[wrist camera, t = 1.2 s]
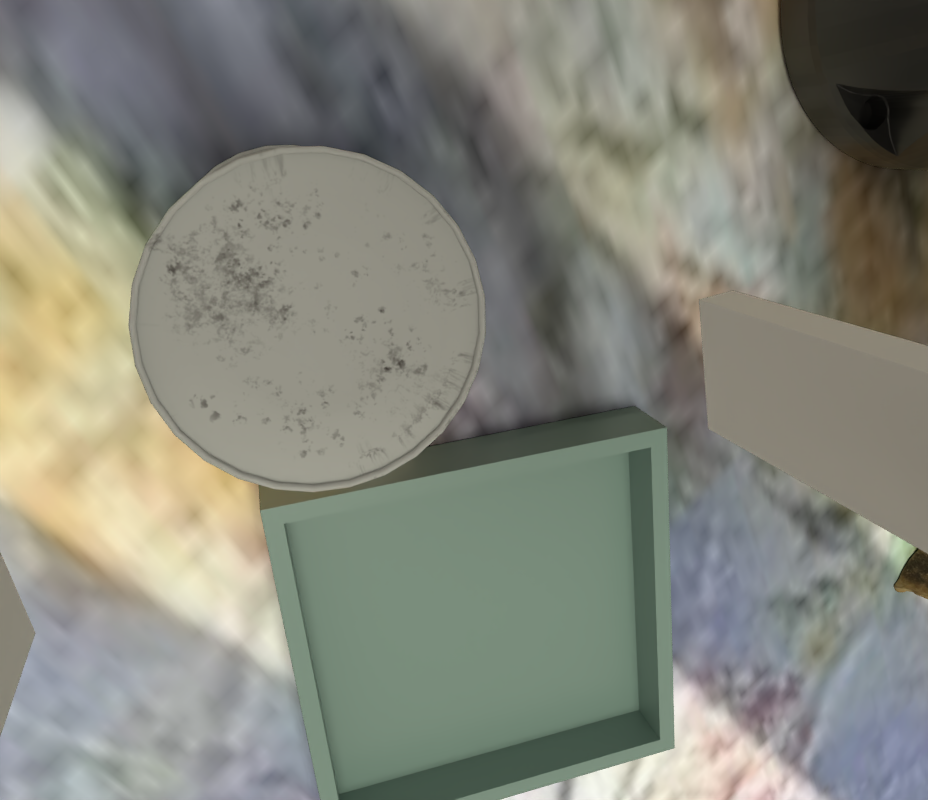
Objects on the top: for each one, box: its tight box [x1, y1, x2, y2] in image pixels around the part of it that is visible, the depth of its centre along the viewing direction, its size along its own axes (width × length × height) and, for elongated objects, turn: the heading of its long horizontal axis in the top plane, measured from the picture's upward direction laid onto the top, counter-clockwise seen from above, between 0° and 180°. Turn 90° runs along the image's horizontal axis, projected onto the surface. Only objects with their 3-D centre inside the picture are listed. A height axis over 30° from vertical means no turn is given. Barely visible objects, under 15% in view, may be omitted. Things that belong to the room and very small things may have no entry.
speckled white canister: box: [129, 145, 486, 492], centre depth 28 cm, size 10×10×12 cm
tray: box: [259, 406, 675, 800], centre depth 39 cm, size 18×18×3 cm
